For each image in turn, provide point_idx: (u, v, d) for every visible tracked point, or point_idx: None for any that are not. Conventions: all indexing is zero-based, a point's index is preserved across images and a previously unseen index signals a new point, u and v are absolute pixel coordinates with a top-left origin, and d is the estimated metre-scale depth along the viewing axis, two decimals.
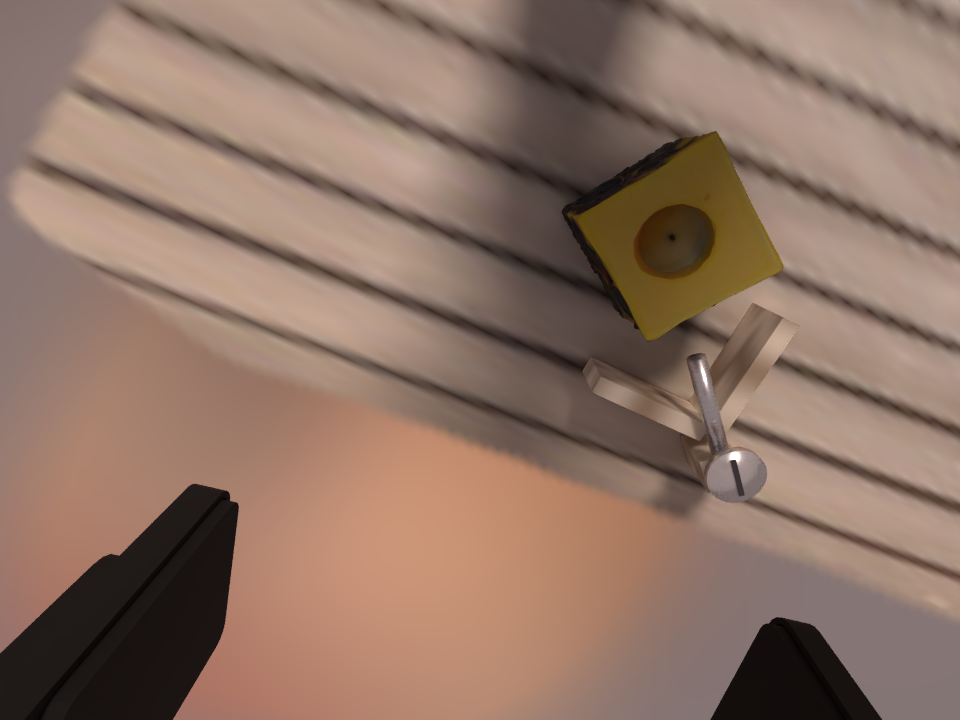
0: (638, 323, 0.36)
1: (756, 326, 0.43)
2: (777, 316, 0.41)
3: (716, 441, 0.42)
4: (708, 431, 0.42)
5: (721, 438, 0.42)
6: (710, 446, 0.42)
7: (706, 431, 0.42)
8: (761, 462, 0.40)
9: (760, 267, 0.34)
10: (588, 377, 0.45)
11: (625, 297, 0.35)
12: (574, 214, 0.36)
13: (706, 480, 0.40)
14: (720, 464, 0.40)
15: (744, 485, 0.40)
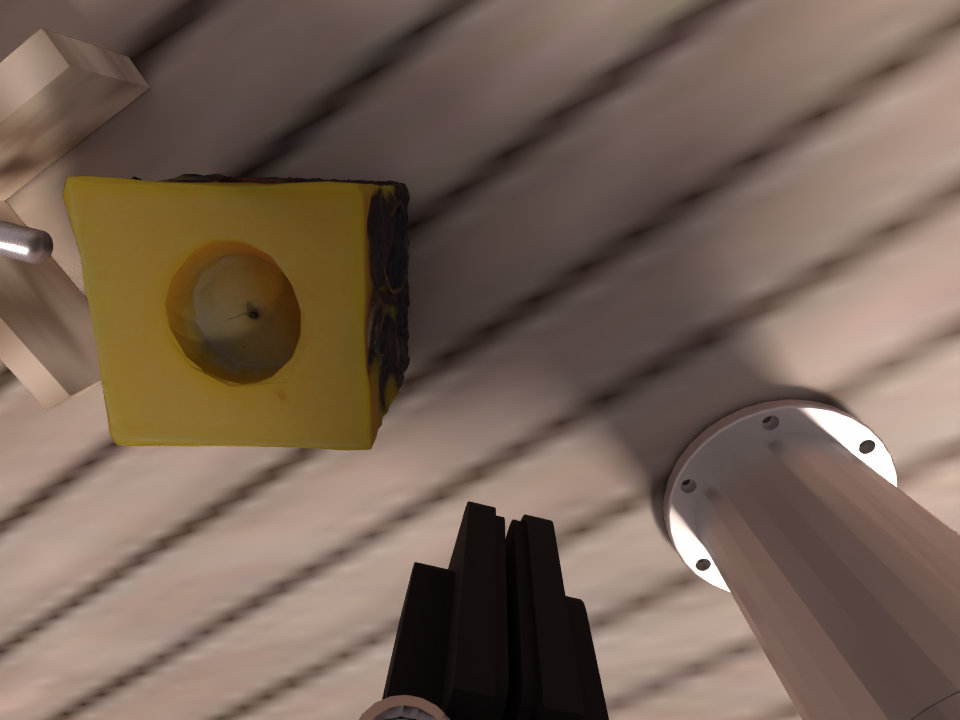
0: (109, 180, 0.17)
1: (85, 354, 0.27)
2: (80, 388, 0.26)
3: None
4: None
5: None
6: None
7: None
8: None
9: (129, 415, 0.20)
10: (94, 51, 0.22)
11: (171, 185, 0.17)
12: (377, 190, 0.20)
13: None
14: None
15: None
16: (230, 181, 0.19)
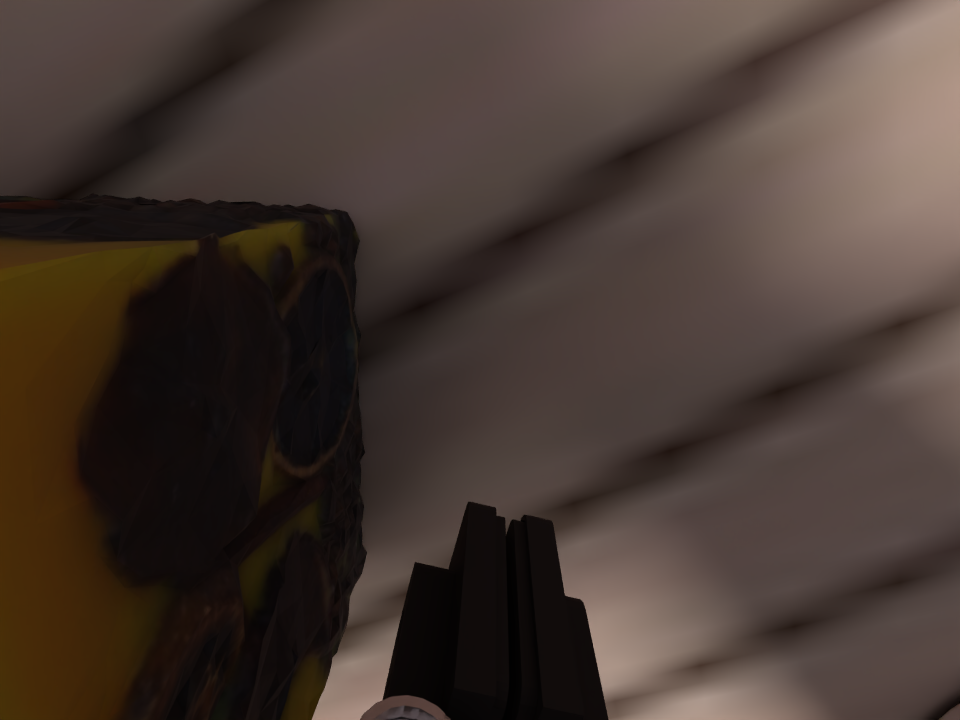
0: None
1: None
2: None
3: None
4: None
5: None
6: None
7: None
8: None
9: None
10: None
11: None
12: (169, 265, 0.05)
13: None
14: None
15: None
16: None
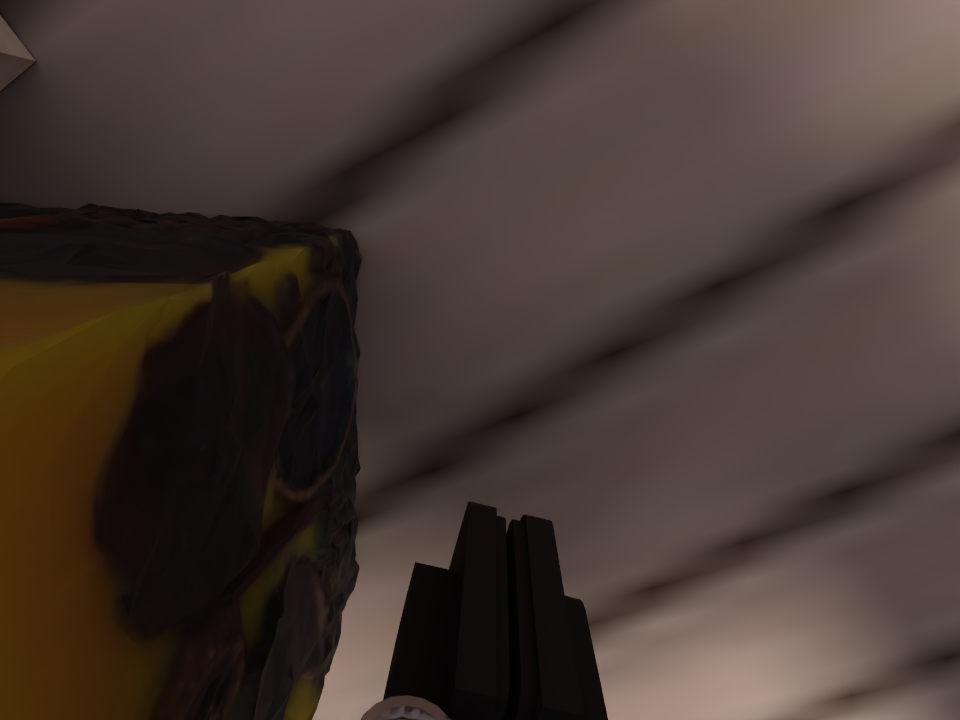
0: None
1: None
2: None
3: None
4: None
5: None
6: None
7: None
8: None
9: None
10: None
11: None
12: (185, 314, 0.05)
13: None
14: None
15: None
16: None
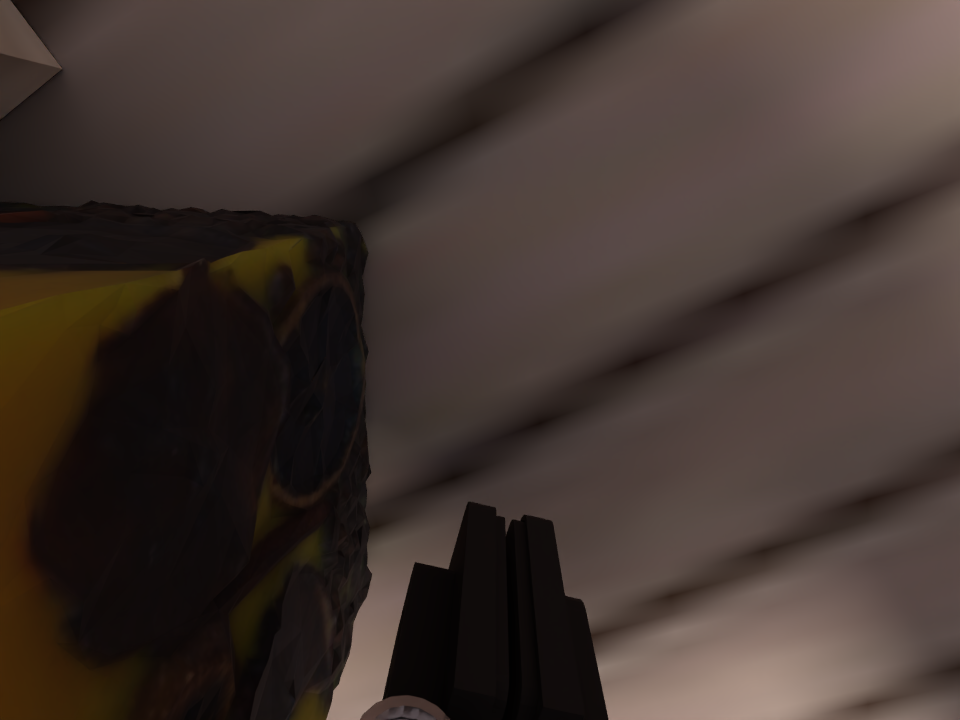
0: None
1: None
2: None
3: None
4: None
5: None
6: None
7: None
8: None
9: None
10: None
11: None
12: (146, 302, 0.05)
13: None
14: None
15: None
16: None
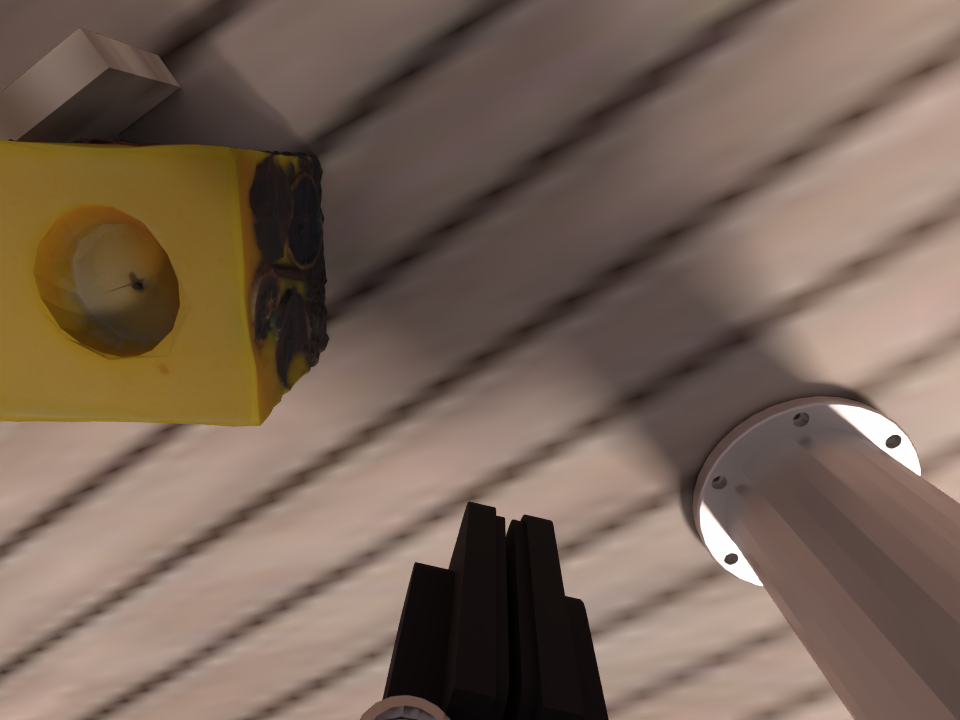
0: None
1: None
2: None
3: None
4: None
5: None
6: None
7: None
8: None
9: (3, 389, 0.19)
10: (128, 51, 0.22)
11: (31, 145, 0.16)
12: (265, 157, 0.19)
13: None
14: None
15: None
16: (104, 144, 0.18)
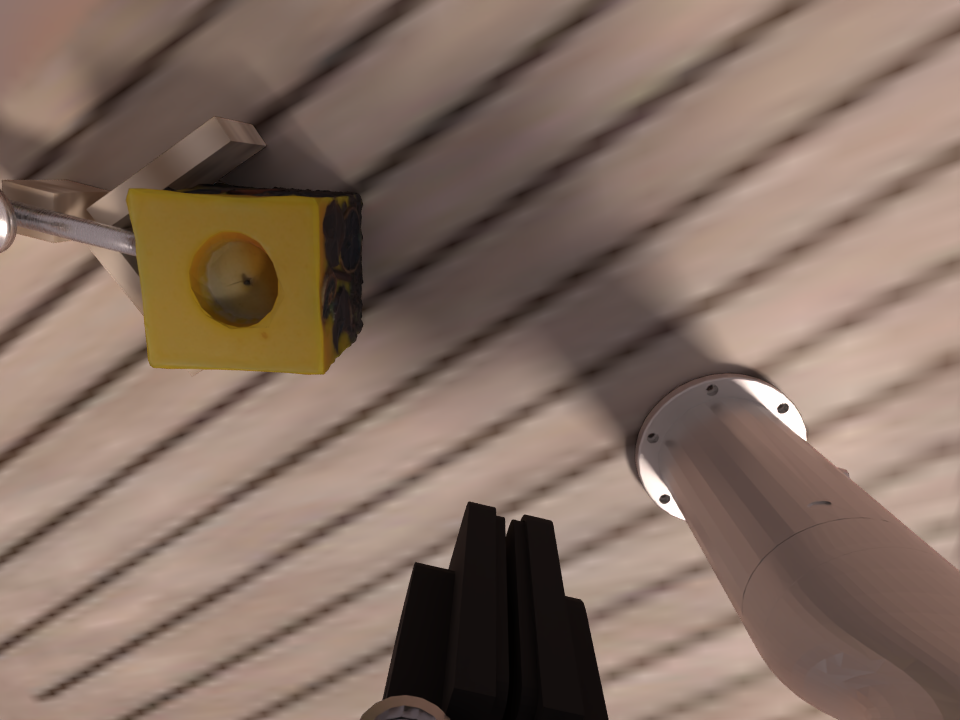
0: (156, 191, 0.27)
1: None
2: None
3: (37, 218, 0.31)
4: (56, 215, 0.31)
5: (38, 225, 0.31)
6: (33, 207, 0.31)
7: (57, 213, 0.31)
8: None
9: (162, 347, 0.29)
10: (238, 125, 0.32)
11: (196, 195, 0.27)
12: (331, 201, 0.29)
13: None
14: None
15: None
16: (233, 193, 0.28)
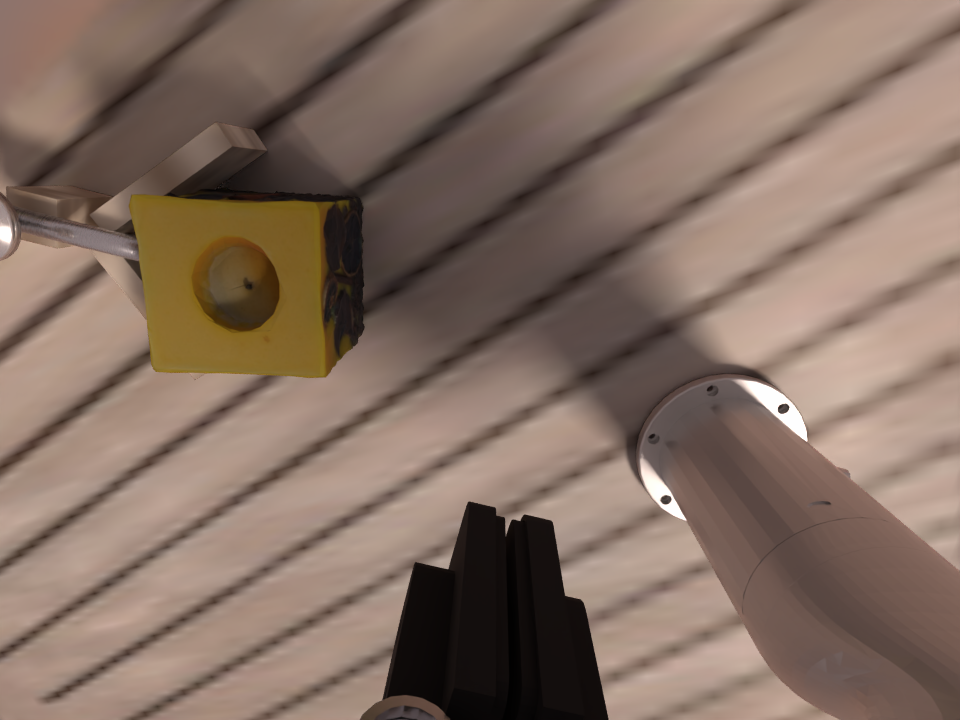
0: (158, 197, 0.27)
1: None
2: None
3: (41, 224, 0.31)
4: (59, 221, 0.31)
5: (42, 231, 0.31)
6: (37, 214, 0.31)
7: (61, 219, 0.31)
8: None
9: (165, 351, 0.30)
10: (239, 131, 0.33)
11: (198, 201, 0.27)
12: (332, 205, 0.30)
13: None
14: None
15: None
16: (235, 198, 0.29)
